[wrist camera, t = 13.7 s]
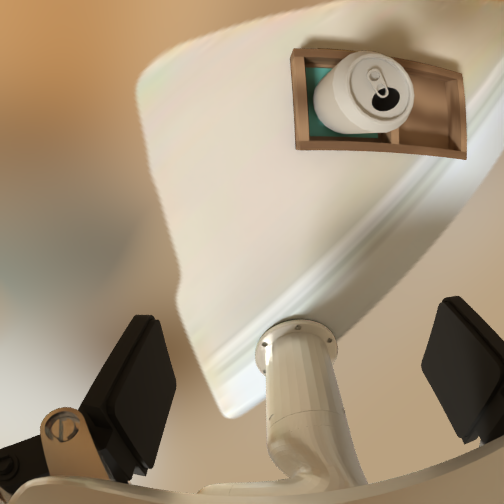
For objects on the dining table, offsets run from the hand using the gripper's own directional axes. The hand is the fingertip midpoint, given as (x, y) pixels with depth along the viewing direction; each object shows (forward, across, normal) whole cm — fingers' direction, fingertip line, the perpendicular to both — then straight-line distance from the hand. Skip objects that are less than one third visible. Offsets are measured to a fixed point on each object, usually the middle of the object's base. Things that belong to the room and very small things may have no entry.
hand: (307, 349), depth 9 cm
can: (+27, -9, -11) cm, 31 cm away
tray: (+28, -14, -11) cm, 33 cm away
